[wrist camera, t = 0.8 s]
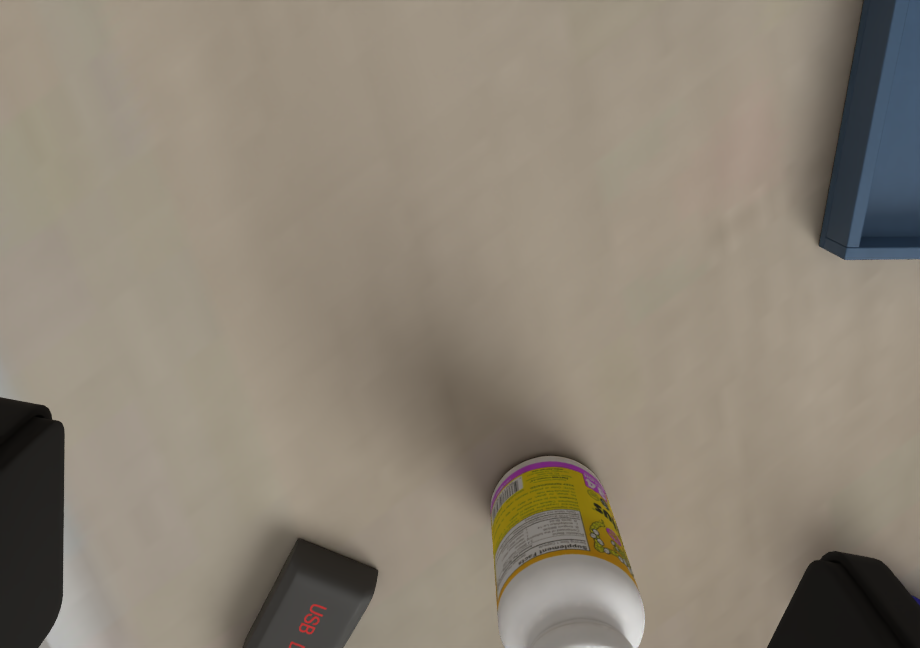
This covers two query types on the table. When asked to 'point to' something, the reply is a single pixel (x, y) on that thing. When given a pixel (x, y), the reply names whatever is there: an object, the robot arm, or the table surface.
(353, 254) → the table surface
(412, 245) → the table surface
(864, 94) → the basin tray
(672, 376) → the table surface
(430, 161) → the table surface
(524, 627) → the supplement bottle
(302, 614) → the usb drive
